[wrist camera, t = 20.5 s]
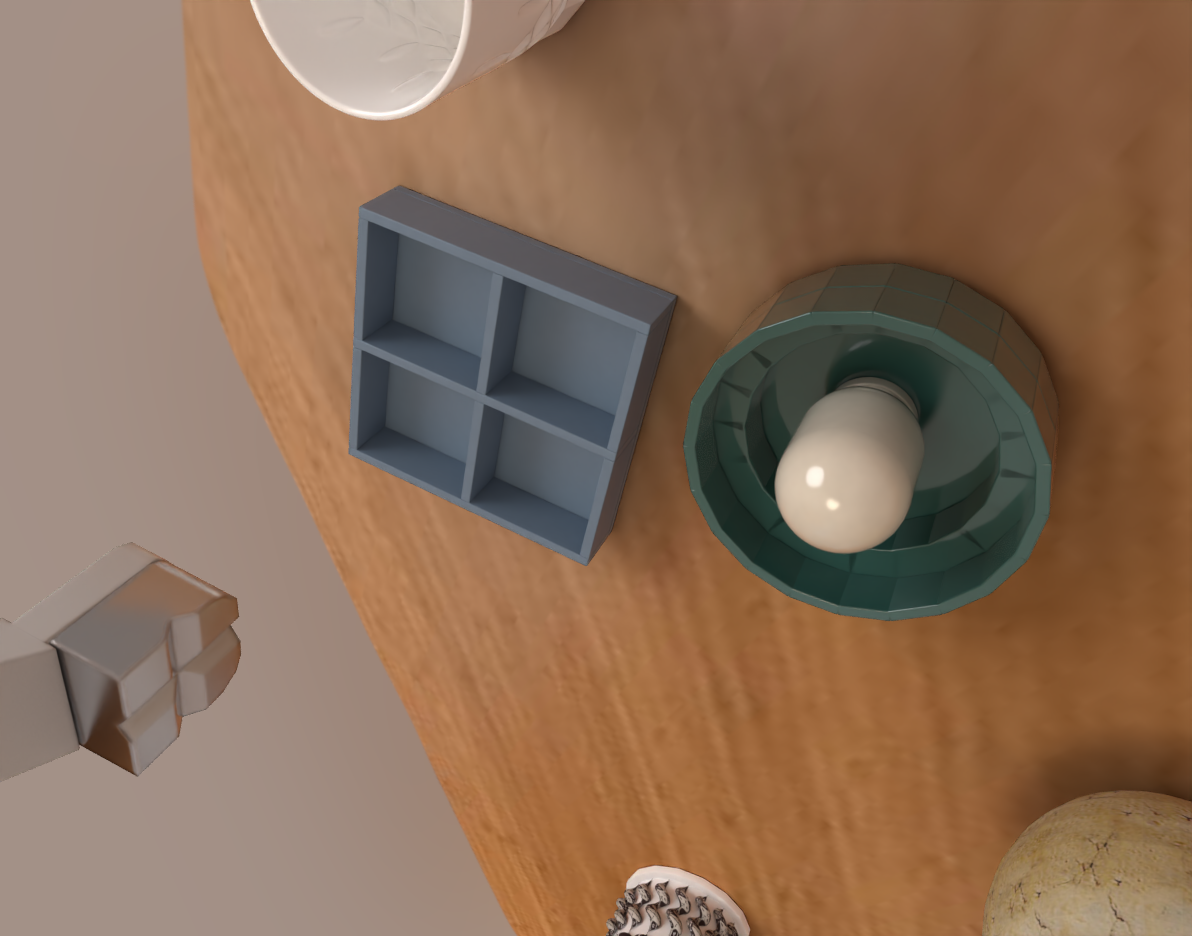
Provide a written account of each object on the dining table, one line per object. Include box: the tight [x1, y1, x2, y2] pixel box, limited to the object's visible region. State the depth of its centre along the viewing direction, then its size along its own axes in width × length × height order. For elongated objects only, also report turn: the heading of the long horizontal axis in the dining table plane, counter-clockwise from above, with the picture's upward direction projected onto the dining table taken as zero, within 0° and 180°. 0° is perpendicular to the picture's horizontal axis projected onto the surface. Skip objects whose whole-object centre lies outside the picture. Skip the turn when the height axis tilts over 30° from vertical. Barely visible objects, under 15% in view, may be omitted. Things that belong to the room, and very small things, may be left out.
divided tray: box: [349, 186, 677, 566], centre depth 45 cm, size 14×14×3 cm
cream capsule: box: [774, 377, 925, 554], centre depth 36 cm, size 5×5×8 cm
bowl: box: [683, 263, 1059, 621], centre depth 37 cm, size 13×13×5 cm
